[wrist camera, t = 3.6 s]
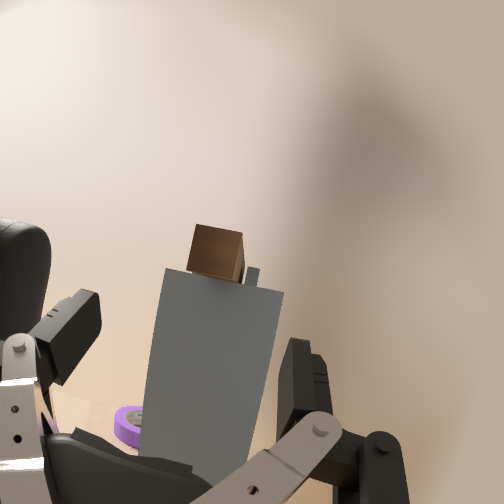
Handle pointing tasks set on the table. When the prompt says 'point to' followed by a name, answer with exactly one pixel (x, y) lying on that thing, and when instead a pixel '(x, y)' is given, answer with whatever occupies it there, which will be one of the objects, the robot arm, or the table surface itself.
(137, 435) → the masking tape
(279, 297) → the pale blue pedestal
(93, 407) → the table surface
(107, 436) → the table surface
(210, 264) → the brown wooden bar
